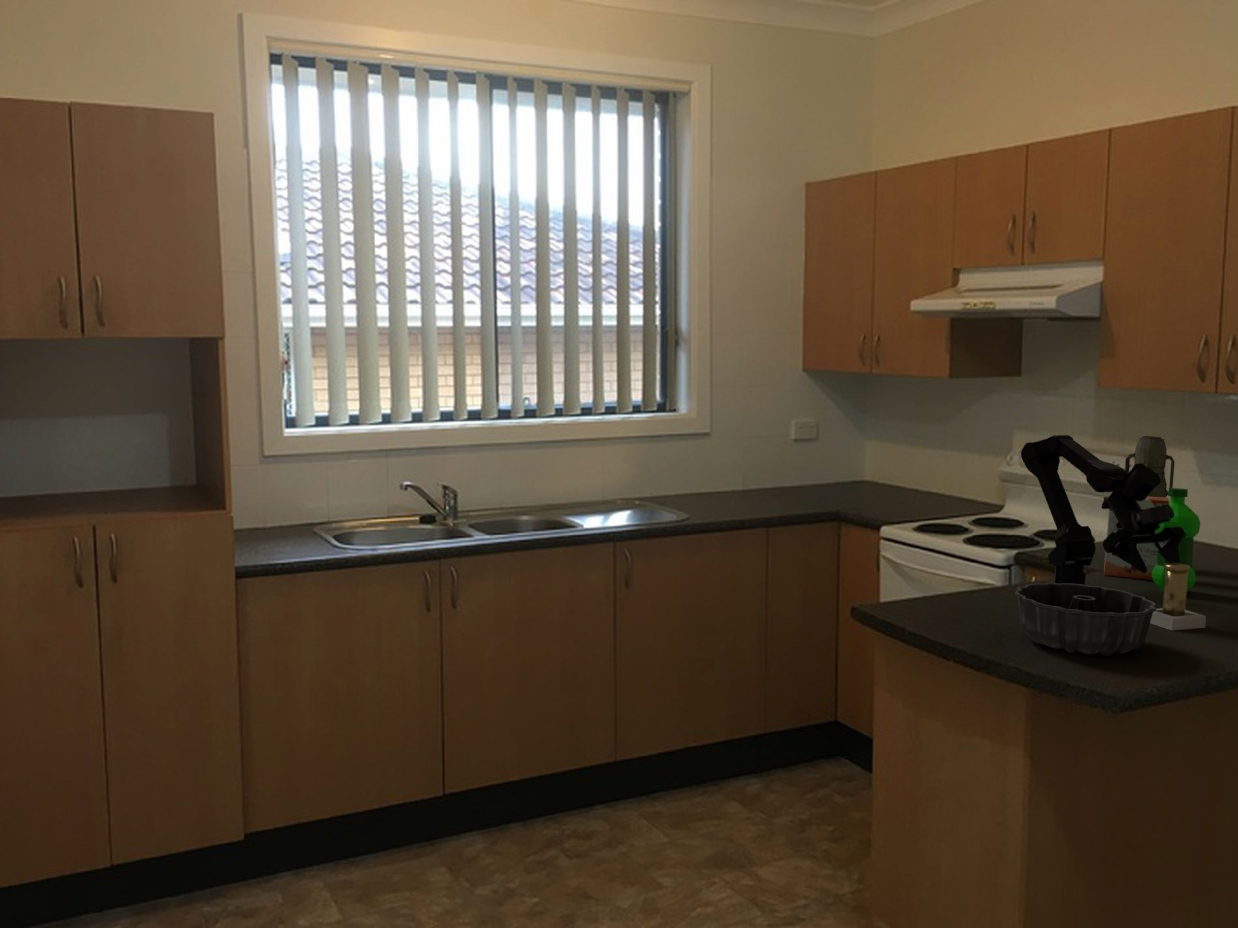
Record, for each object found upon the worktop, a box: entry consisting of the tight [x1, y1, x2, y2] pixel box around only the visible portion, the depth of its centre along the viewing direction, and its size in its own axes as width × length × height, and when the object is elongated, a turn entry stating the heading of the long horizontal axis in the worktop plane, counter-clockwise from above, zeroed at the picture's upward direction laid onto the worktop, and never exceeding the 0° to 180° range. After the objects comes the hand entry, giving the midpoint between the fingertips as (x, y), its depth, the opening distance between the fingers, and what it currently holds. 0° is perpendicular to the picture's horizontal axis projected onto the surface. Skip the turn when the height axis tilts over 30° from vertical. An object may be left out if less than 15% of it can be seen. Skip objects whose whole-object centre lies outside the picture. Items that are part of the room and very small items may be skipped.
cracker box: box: [1103, 496, 1170, 581], centre depth 304 cm, size 14×6×21 cm, turn 68°
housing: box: [1150, 607, 1207, 631], centre depth 256 cm, size 8×9×2 cm
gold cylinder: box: [1162, 563, 1190, 617], centre depth 256 cm, size 5×5×13 cm
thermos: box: [1124, 435, 1175, 498], centre depth 315 cm, size 9×12×35 cm
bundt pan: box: [1014, 582, 1157, 657], centre depth 238 cm, size 26×26×10 cm
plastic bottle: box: [1152, 487, 1201, 593], centre depth 286 cm, size 10×10×25 cm
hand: (1162, 571), depth 259 cm, fingers open, 9 cm apart
